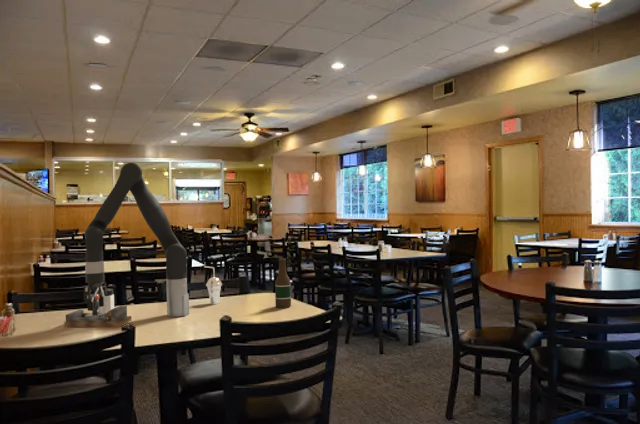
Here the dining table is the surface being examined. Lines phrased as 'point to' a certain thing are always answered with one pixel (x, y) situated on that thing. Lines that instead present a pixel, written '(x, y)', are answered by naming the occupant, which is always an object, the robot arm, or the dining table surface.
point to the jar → (108, 301)
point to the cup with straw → (214, 288)
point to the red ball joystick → (96, 309)
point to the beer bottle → (282, 286)
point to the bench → (98, 319)
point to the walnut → (109, 314)
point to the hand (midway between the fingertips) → (96, 308)
